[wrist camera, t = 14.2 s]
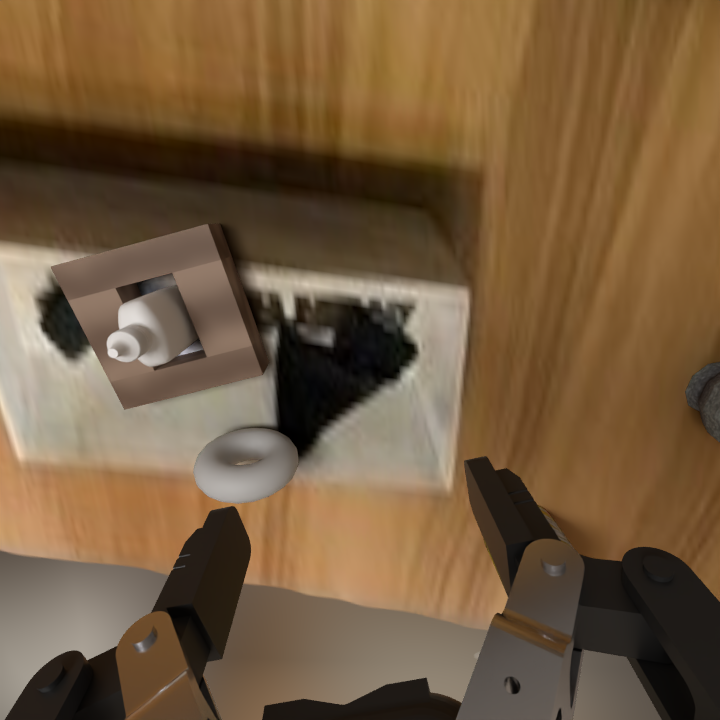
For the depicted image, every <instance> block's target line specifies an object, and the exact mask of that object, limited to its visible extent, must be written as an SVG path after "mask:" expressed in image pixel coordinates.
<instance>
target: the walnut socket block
mask: <svg viewBox="0 0 720 720" xmlns="http://www.w3.org/2000/svg"><path fill="white" fill-rule="evenodd" d="M51 269H52V271H53V273H54V274H55V276H56V278H57V280H58V282H59V284H60V286H61V288H62V290H63V292H64V294H65V296H66V298H67V300H68V301H69V303H70V305H71V307H72V309H73V311H74V313H75V315H76V317H77V319H78V321H79V323H80V325H81V327H82V328H83V330H84V332H85V334H86V336H87V338H88V340H89V342H90V344H91V346H92V348H93V350H94V352H95V354H96V356H97V357H98V359H99V361H100V363H101V365H102V367H103V369H104V371H105V373H106V375H107V377H108V379H109V381H110V383H111V384H112V386H113V388H114V390H115V392H116V394H117V396H118V398H119V400H120V402H121V404H122V406H123V408H124V410H125V409H129V408H133V407H137V406H141V405H145V404H149V403H153V402H157V401H161V400H165V399H169V398H173V397H177V396H180V395H184V394H188V393H192V392H196V391H200V390H204V389H208V388H212V387H216V386H220V385H224V384H228V383H232V382H236V381H240V380H244V379H248V378H252V377H256V376H260V375H263V373H264V371H265V369H266V368H267V366H268V364H269V360H268V357H267V354H266V351H265V349H264V346H263V343H262V340H261V337H260V335H259V332H258V329H257V326H256V323H255V321H254V318H253V315H252V312H251V309H250V306H249V304H248V301H247V298H246V295H245V292H244V290H243V287H242V284H241V281H240V278H239V276H238V273H237V270H236V267H235V264H234V261H233V259H232V256H231V253H230V250H229V247H228V245H227V242H226V239H225V236H224V233H223V231H222V228H221V225H220V224H206V225H202V226H198V227H195V228H191V229H187V230H184V231H180V232H176V233H173V234H169V235H165V236H162V237H158V238H154V239H150V240H147V241H143V242H139V243H136V244H132V245H128V246H125V247H121V248H117V249H114V250H110V251H106V252H103V253H99V254H95V255H92V256H88V257H84V258H81V259H77V260H73V261H70V262H66V263H62V264H59V265H55V266H51ZM170 273H172V274H173V276H174V279H175V281H176V283H177V286H178V288H179V291H180V293H181V295H182V298H183V300H184V303H185V305H186V308H187V310H188V312H189V315H190V317H191V320H192V322H193V324H194V327H195V329H196V332H197V334H198V337H199V339H200V341H201V344H202V346H203V349H204V350H200V351H197V352H193V353H189V354H185V355H181V356H177V357H175V358H173V359H172V360H171V361H169V362H167V363H165V364H162V365H158V366H153V367H149V366H146V365H144V364H143V363H142V362H140V361H139V360H138V359H136V360H134V361H132V362H121V361H119V360H117V359H115V358H111V357H110V356H109V355H108V349H107V340H108V337H109V336H110V335H111V334H112V333H114V332H115V331H118V330H119V324H118V311H119V308H120V306H121V305H123V304H124V303H126V302H128V301H131V300H133V299H136V298H138V297H141V296H142V295H141V293H140V291H139V288H138V286H137V284H136V282H140V281H144V280H147V279H151V278H155V277H159V276H162V275H166V274H170Z"/></svg>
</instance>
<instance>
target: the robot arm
mask: <svg viewBox="0 0 720 720" xmlns="http://www.w3.org/2000/svg"><path fill="white" fill-rule="evenodd" d="M464 466H465V473H466V480H467V487H468V494H469V499H470V504H471V507H472V511H473V514H474V516H475V519H476V521H477V523H478V526H479V528H480V531H481V533H482V536H483V538H484V540H485V543H486V545H487V548H488V550H489V552H490V555H491V557H492V560H493V562H494V564H495V567H496V569H497V572H498V574H499V576H500V579H501V581H502V584H503V586H504V588H505V591H506V593H507V596H508V600H507V603H506V606H505V609H504V611H503V613H502V614H500V613H497V614H496V615H495V616H494V617H493V619H492V622H491V624H490V627H489V630H488V632H487V636H486V638H485V641H484V644H483V646H482V649H481V652H480V654H479V657H478V660H477V663H476V665H475V669H474V671H473V674H472V676H471V679H470V682H469V685H468V688H467V690H466V693H465V696H464V698H463V701H462V703H461V702H459V701H456V700H455V699H452V698H450V697H448V696H444V695H441V694H437V693H431V692H430V690H429V686H428V682H427V678H422V679H416V680H410V681H405V682H400V683H393V684H387V685H385V686H383V687H381V688H379V689H377V690H374V691H372V692H370V693H369V694H366V695H364V696H362V697H360V698H358V699H357V700H354V701H352V702H350V703H348V704H345V705H339V704H332V703H326V702H320V701H314V700H307V699H301V700H295V701H290V702H283V703H278V704H272V705H266V706H265V707H264V714H263V719H262V720H573V716H574V710H575V704H576V698H577V691H578V685H579V679H580V673H581V667H582V661H583V655H584V650H589V651H596V652H601V653H607V654H613V655H618V656H625V657H627V659H628V660H629V662H630V664H631V666H632V667H633V669H634V671H635V673H636V675H637V676H638V678H639V680H640V682H641V683H642V685H643V687H644V689H645V691H646V692H647V694H648V696H649V698H650V699H651V701H652V703H653V704H654V707H655V708H656V710H657V712H658V714H659V715H660V717H661V719H662V720H720V602H719V601H718V600H717V598H716V597H715V596H714V595H713V594H712V593H711V592H710V590H709V589H708V588H707V587H706V586H705V585H704V584H703V582H702V581H701V580H700V579H699V578H698V577H697V576H696V574H695V573H694V572H693V571H692V570H691V569H690V568H689V567H688V566H687V565H686V564H685V563H684V562H683V561H682V560H680V559H679V558H677V557H676V556H674V555H672V554H670V553H668V552H666V551H663V550H660V549H657V548H651V547H638V548H633V549H631V550H629V551H628V552H626V553H625V555H624V556H623V559H622V561H612V560H602V559H594V558H589V557H586V556H583V555H580V554H579V553H578V552H577V551H576V550H575V549H574V548H572V547H571V546H569V545H568V544H566V543H564V542H561V540H560V539H559V538H558V536H557V535H556V533H555V531H554V530H553V528H552V527H551V525H550V524H549V522H548V521H547V519H546V517H545V516H544V514H543V513H542V511H541V510H540V508H539V507H538V505H537V504H536V502H535V501H534V499H533V497H532V496H531V494H530V493H529V491H527V488H526V487H525V485H524V483H523V482H522V480H521V479H520V477H518V476H517V475H515V474H514V473H513V472H511V471H510V470H508V469H507V468H506V469H501V470H496V471H495V470H494V468H493V466H492V464H491V463H490V461H489V459H488V458H487V457H486V456H484V457H479V458H474V459H469V460H465V461H464ZM250 556H251V545H250V540H249V537H248V535H247V532H246V530H245V528H244V525H243V523H242V521H241V518H240V516H239V513H238V511H237V509H236V508H235V507H234V506H231V507H226V508H221V509H216V510H212V511H210V513H209V514H208V517H207V519H206V521H205V523H204V525H203V528H199V529H197V530H196V531H195V532H194V533H193V534H192V535H191V536H190V538H189V539H188V540H187V541H186V542H185V544H184V546H183V548H182V550H181V552H180V554H179V559H177V561H176V563H175V565H174V567H173V570H172V571H171V573H170V575H169V577H168V579H167V581H166V583H165V585H164V587H163V590H162V592H161V593H160V595H159V598H158V600H157V602H156V604H155V606H154V608H153V610H152V612H151V613H150V614H148V615H146V616H144V617H142V618H141V619H139V620H138V621H137V622H135V623H134V624H133V625H132V626H131V627H130V628H129V629H128V630H127V631H126V633H125V634H124V635H123V637H122V638H121V640H120V641H119V644H118V646H116V647H114V648H112V649H110V650H108V651H106V652H104V653H102V654H100V655H98V656H96V657H94V658H91V659H89V660H86V658H85V657H84V656H83V654H82V653H81V652H79V651H69V652H65V653H63V654H61V655H59V656H57V657H55V658H54V659H52V660H51V661H49V662H48V663H47V664H46V665H44V666H43V667H42V668H41V669H40V670H39V671H38V672H37V673H36V674H35V675H34V676H33V678H32V679H31V680H30V681H29V683H28V684H27V686H26V687H25V689H24V690H23V692H22V694H21V695H20V696H19V698H18V700H17V701H16V703H15V704H14V706H13V708H12V709H11V711H10V713H9V714H8V715H7V717H6V719H5V720H222V719H221V716H220V714H219V711H218V708H217V706H216V704H215V701H214V698H213V696H212V693H211V690H210V688H209V685H208V683H207V680H206V678H205V676H204V675H203V672H204V669H205V666H206V663H207V662H208V661H214V660H219V659H222V657H223V653H224V650H225V646H226V642H227V639H228V636H229V632H230V628H231V625H232V621H233V618H234V614H235V610H236V607H237V603H238V600H239V596H240V593H241V589H242V585H243V582H244V578H245V575H246V571H247V568H248V564H249V560H250Z"/></svg>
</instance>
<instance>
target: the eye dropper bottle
mask: <svg viewBox="0 0 720 720" xmlns="http://www.w3.org/2000/svg"><path fill="white" fill-rule="evenodd" d="M118 324H119V330H118V331H115V332H114V333H112V334H111V335H110V336H109V337H108V340H107V349H108V355H109V356H110V357H111V358H115V359H117V360H119V361H121V362H132V361H134V360H136V359H138V360H139V361H140V362H142V363H143V364H144V365H146V366H149V367H153V366H158V365H162V364H165V363H167V362H169V361H171V360H172V359H173V358H175V357H176V356H177V355H179V354H180V353H181V352H182V351H184V350H185V349H186V348H187V347H189V346H190V345H191V344H192V343H193V342H195V341H196V340H197V339H198V338H199V337H198V334H197V332H196V329H195V327H194V324H193V322H192V320H191V317H190V315H189V312H188V310H187V308H186V305H185V303H184V300H183V298H182V295H181V293H180V291H179V288H178V287H177V286H170V287H166V288H163V289H159V290H157V291H154V292H151V293H149V294H146V295H144V296H141V297H138V298H136V299H133V300H131V301H128V302H126V303H124V304H123V305H121V306H120V308H119V311H118Z"/></svg>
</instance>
